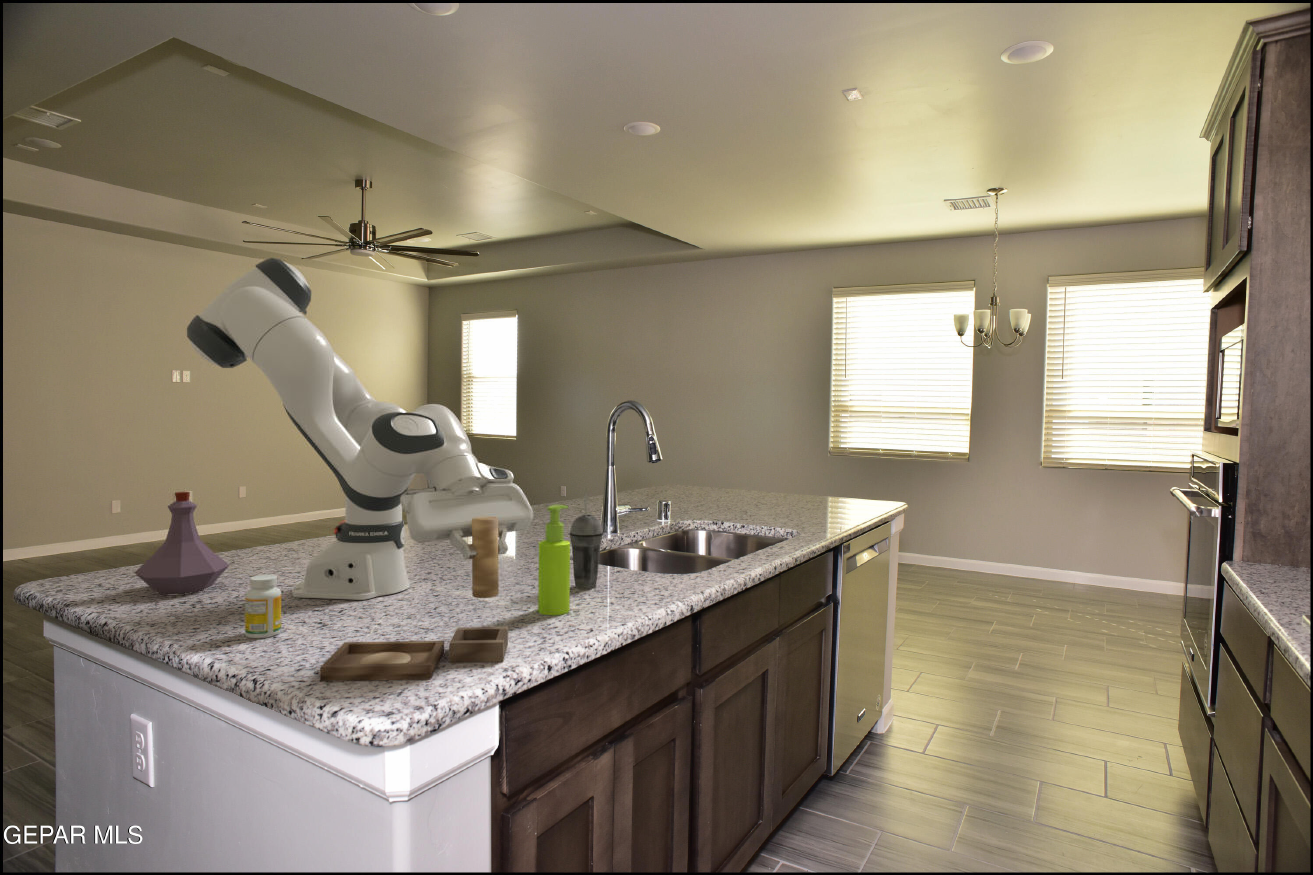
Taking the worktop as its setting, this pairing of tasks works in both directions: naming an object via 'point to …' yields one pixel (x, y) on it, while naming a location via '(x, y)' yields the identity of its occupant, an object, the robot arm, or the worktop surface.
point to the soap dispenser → (554, 567)
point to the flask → (182, 555)
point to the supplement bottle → (263, 607)
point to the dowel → (485, 557)
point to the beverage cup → (585, 549)
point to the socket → (478, 644)
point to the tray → (383, 661)
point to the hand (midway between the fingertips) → (487, 554)
